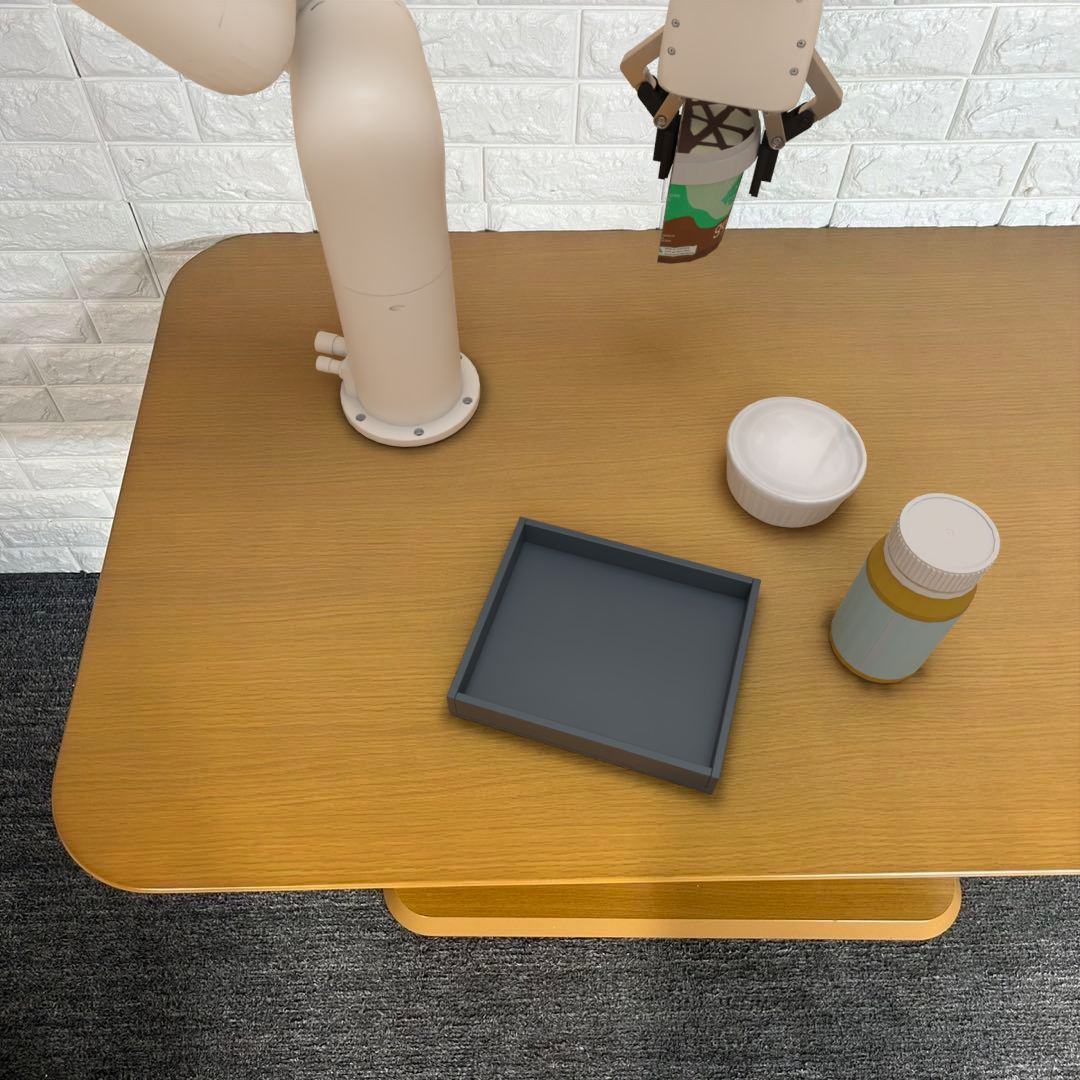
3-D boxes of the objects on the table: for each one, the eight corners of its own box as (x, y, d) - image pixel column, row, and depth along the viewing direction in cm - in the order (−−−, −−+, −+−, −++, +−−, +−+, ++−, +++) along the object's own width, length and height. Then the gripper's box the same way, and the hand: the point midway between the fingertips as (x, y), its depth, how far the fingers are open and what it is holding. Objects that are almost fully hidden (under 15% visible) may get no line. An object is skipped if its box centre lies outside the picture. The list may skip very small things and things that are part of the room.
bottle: (902, 703, 65) (989, 598, 53) (812, 657, 67) (875, 546, 55) (933, 632, 69) (1021, 517, 56) (846, 590, 71) (913, 471, 58)
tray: (449, 714, 65) (446, 696, 62) (520, 538, 73) (519, 515, 71) (711, 794, 62) (719, 779, 59) (753, 600, 70) (761, 579, 68)
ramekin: (860, 541, 73) (880, 503, 69) (723, 539, 73) (735, 501, 69) (836, 437, 80) (854, 396, 75) (710, 435, 80) (720, 394, 75)
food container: (733, 285, 70) (764, 169, 61) (654, 274, 70) (675, 157, 62) (740, 192, 77) (769, 75, 68) (669, 182, 77) (689, 65, 69)
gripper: (911, -91, 55) (827, 171, 70) (638, -130, 58) (612, 132, 73) (905, -38, 51) (817, 229, 66) (611, -83, 54) (589, 185, 68)
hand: (710, 176), depth 69 cm, fingers closed on food container, 6 cm apart
